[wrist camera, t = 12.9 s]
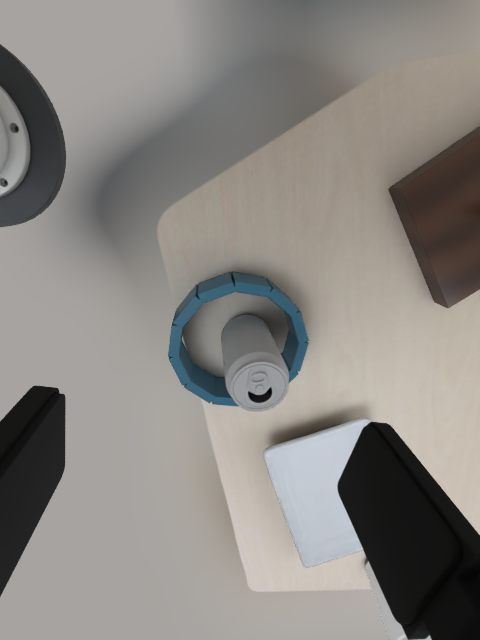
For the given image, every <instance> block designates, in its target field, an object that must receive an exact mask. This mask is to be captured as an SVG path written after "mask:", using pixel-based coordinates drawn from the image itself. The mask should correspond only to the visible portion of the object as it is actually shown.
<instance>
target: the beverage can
mask: <svg viewBox="0 0 480 640" xmlns="http://www.w3.org/2000/svg"><path fill="white" fill-rule="evenodd" d="M221 341H222V351H223V362H224V372H225V382H226V388H227V391H228V393H229V394H230V396H231V397H232V398H233V400H234V402H235V403H236V404H237V405H238V406H240V407H241V408H243V409H246V410H249V411H265V410H268V409H271V408H273V407H275V406H276V405H277V404H279V403H280V402H281V401H282V400H283V399H284V397H285V395H286V393H287V391H288V385H289V383H288V382H289V372H288V369H287V366H286V364H285V362H284V360H283V358H282V356H281V354H280V351H279V349H278V347H277V345H276V343H275V341H274V339H273V337H272V335H271V332H270V330H269V328H268V326H267V325H266V323H265V322H264V321H263V320H261V319H260V318H258V317H256V316H253V315H241V316H238V317H235V318H233V319H232V320H230V321H229V322H228V323H227V324H226V326H225V327H224V329H223V332H222V336H221Z"/></svg>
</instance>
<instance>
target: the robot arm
mask: <svg viewBox="0 0 480 640" xmlns="http://www.w3.org/2000/svg"><path fill="white" fill-rule="evenodd" d="M17 127H18V128H19V131H17ZM29 162H30V140H29V135H28V131H27V128H26V125H25V122H24V119H23V117H22V115H21V113H20V111H19V110H18V108H17V106H16V104H15V103H14V101H13V100H12V99H11V97H10V96H9V94H8V93H7V92H6V91H5V90H4V89H3V88H2V87H1V86H0V197H2V196H5V195H7V194H9V193H10V192H12V191H13V190H14V189H16V188H17V187H18V186H19V184H20V183H21V182H22V181H23V179H24V177H25V175H26V173H27V171H28V167H29ZM6 181H7V182H8V185H7V183H6ZM64 467H65V395H64V394H59V390H58V388H52V387H44V386H33V387H32V388H31V389H30V390H29V391H28V392H27V393H26V394H25V395H24V396H23V397H22V399H20V401H19V402H18V403H17V404H16V405H15V406H14V407H13V408H12V409H11V410H10V412H9V413H8V414H7V415H6V416H5V417H4V418H3V419H2V420H1V421H0V596H1V594H2V592H3V590H4V588H5V586H6V584H7V582H8V580H9V579H10V577H11V575H12V572H13V571H14V569H15V567H16V565H17V563H18V561H19V559H20V557H21V555H22V553H23V551H24V549H25V547H26V546H27V544H28V542H29V540H30V538H31V536H32V534H33V532H34V530H35V528H36V526H37V524H38V522H39V520H40V518H41V516H42V514H43V512H44V511H45V508H46V507H47V505H48V503H49V501H50V499H51V497H52V495H53V493H54V491H55V489H56V487H57V485H58V483H59V481H60V479H61V477H62V474H63V472H64ZM337 490H338V494H339V496H340V499H341V501H342V503H343V505H344V507H345V510H346V512H347V514H348V516H349V519H350V521H351V523H352V525H353V528H354V530H355V532H356V534H357V537H358V539H359V541H360V543H361V545H362V548H363V550H364V552H365V554H366V557H367V559H368V561H369V563H370V566H371V568H372V570H373V572H374V575H375V577H376V579H377V581H378V584H379V586H380V588H381V590H382V592H383V595H384V597H385V599H386V601H387V604H388V606H389V608H390V610H391V613H392V615H393V616H394V618H395V620H396V621H397V622H398V623H399V624H401V626H402V628H403V630H404V633H405V635H406V637H407V639H408V640H414V639H426V638H427V637H428V636H429V635H430V637H431V639H432V640H480V535H479V534H478V533H477V532H476V530H475V529H474V528H473V527H472V525H471V524H470V523H469V522H468V520H467V519H466V518H465V517H464V515H463V514H462V513H461V512H460V511H459V509H458V508H457V507H456V506H455V504H454V503H453V502H452V501H451V499H450V498H449V497H448V496H447V494H446V493H445V492H444V491H443V490H442V488H441V487H440V486H439V485H438V483H437V482H436V481H435V480H434V478H433V477H432V476H431V475H430V473H429V472H428V471H427V470H426V469H425V467H424V466H423V465H422V464H421V462H420V461H419V460H418V459H417V457H416V456H415V455H414V454H413V453H412V451H411V450H410V449H409V448H408V446H407V445H406V444H405V443H404V441H403V440H402V439H401V438H400V436H399V435H398V434H397V433H396V432H395V430H394V429H393V428H392V427H391V426H390V425H389V424H387V423H377V422H370V423H368V425H367V426H365V427H363V429H362V431H361V433H360V435H359V438H358V440H357V442H356V444H355V446H354V448H353V451H352V453H351V455H350V457H349V459H348V461H347V464H346V466H345V468H344V470H343V472H342V474H341V477H340V479H339V481H338V485H337Z"/></svg>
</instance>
